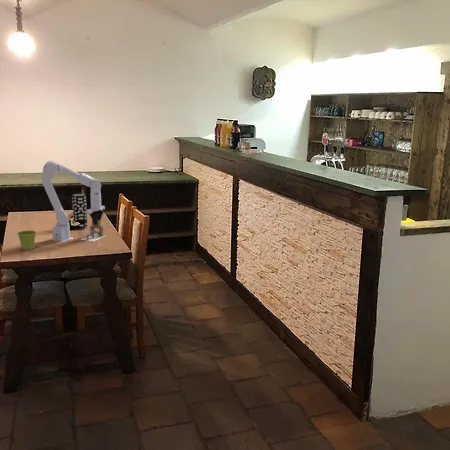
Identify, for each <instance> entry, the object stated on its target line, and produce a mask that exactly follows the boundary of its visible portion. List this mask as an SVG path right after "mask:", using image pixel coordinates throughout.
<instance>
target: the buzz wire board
mask: <svg viewBox="0 0 450 450" xmlns="http://www.w3.org/2000/svg"><path fill="white" fill-rule="evenodd" d="M94 234H97V235H99V230H95V229H94V230H92V231H91V233H90V232H89V233H88V234H86V236H85V237H84V238H80V240H81V241H87V242H88V241H89V242H96V241H98V240H100V239H102V238H103V239H104V237H102V238H101V237H94ZM90 235H92V236H90Z"/></svg>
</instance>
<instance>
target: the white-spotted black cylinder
mask: <svg viewBox="0 0 450 450" xmlns="http://www.w3.org/2000/svg"><path fill="white" fill-rule="evenodd" d="M86 194H87V193H86ZM86 194H85V193H74V194H72V195H71V200H72V201H71V202H72V203H71V204H72V220H74V221H76V222H79V223H80V225H79V226H80V227H82V228H81V229H85V228H87V227H88V213H87V210H88V209H87V205H88V204H87V195H86Z"/></svg>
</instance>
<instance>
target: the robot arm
mask: <svg viewBox="0 0 450 450" xmlns="http://www.w3.org/2000/svg"><path fill="white" fill-rule="evenodd" d="M56 174H66V175H68V176H70V177H72V178H74V179H76V181H77V182H78V183H79V184H81V185H84V186H86V187H87V188H88V187H89V188H90V207H89V209H87V215H90V219H91V222H92V221H93V224H96V225H97V222H98V219H99V220H100V221H102V217H103V215H104V212H105V211H104V210H106V206H105V205H102V193H101V188H102V183H101V182H100V180H99V179H97V178H95V177H94V176H90V175H88V173H87V172H80V173H79V172H78V171H75V170H73V169H71V168H69V167H67V166H65V165H64V164H61V163H59V162H55V161H53V160H48V161H47V162H46V163H45V164H44V166H43V168H42V173H41V177H40V180H41V183H42V185H43V187H44V190H45V192H46V194H47V196H48V199H49V201H50V203H51V206H52V207H53V211H54V212H55V217H56V218H55V219H56V222H55V225H54V226H53V227H52V230H51V231H52V241H53V242H54V241H55V242H62V243H63V242H66V241H69V240H72V239H74V236H73V237H72V236H71V233H70V232H71V230H70V222H69V221H70V218H69V215H68V213H67V212H66V211H65V210H64V208H63V206H62V203H61V202H60V200H59V197H58V194H57V193H56V190H55V188H54V185H53V182H52V179H53V178H54V175H56Z"/></svg>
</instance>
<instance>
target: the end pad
mask: <svg viewBox="0 0 450 450" xmlns="http://www.w3.org/2000/svg"><path fill="white" fill-rule="evenodd" d="M90 236H92V235H90ZM94 237H101V238H100V239H102V237H103V238H105V237H106V235H104V234H103V236H99V235H98V234H96V233H94Z"/></svg>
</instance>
